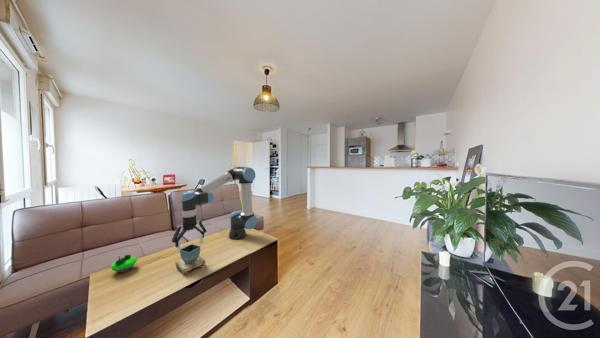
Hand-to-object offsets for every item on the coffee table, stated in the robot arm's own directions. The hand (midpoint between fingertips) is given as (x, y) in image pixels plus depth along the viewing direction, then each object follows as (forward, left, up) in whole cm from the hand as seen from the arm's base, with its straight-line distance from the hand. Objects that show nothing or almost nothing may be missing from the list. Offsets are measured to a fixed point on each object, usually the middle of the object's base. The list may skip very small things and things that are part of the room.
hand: (190, 247), depth 118 cm
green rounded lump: (+27, -29, -14) cm, 42 cm away
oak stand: (0, 0, -13) cm, 13 cm away
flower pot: (0, 0, -9) cm, 10 cm away
